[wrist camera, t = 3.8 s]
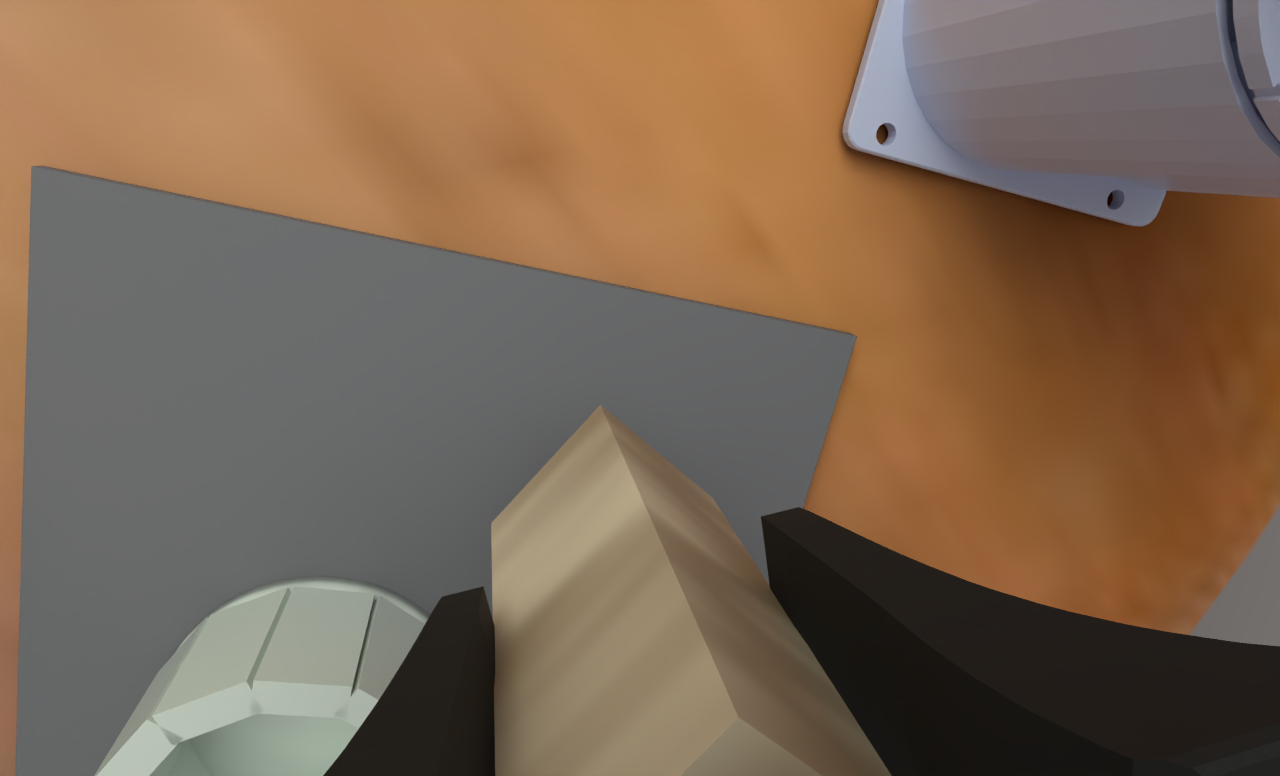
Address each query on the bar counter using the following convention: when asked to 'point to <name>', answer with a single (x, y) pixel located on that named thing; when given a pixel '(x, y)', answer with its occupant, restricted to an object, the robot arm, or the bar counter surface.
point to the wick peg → (648, 632)
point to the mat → (332, 423)
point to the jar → (270, 682)
